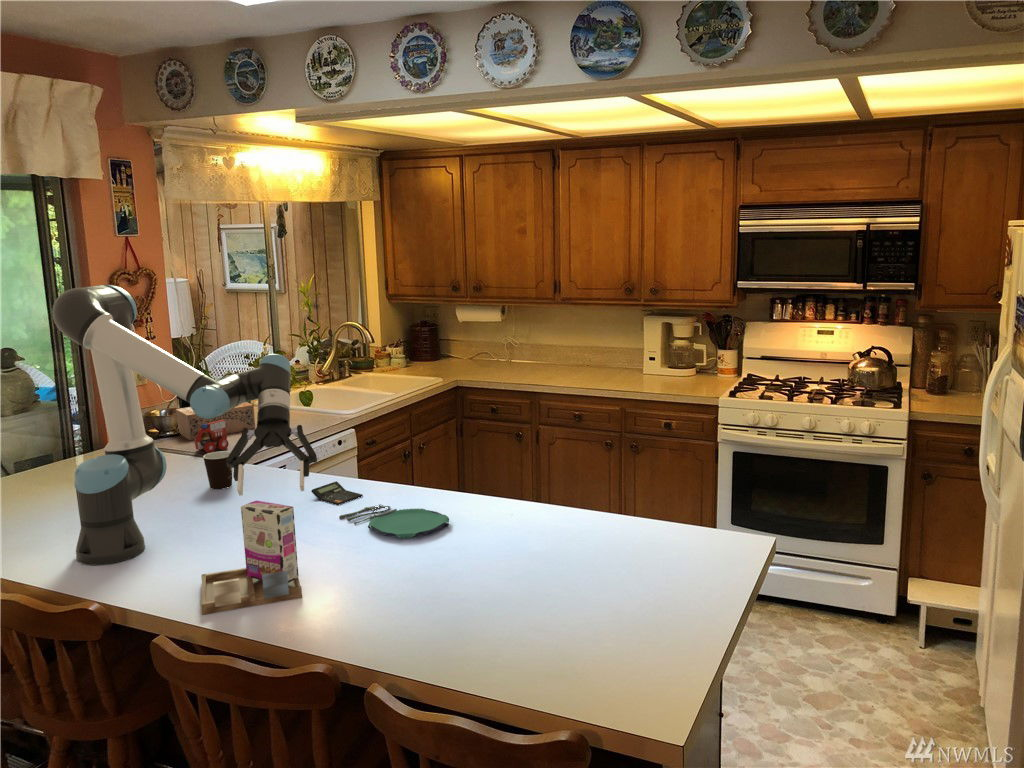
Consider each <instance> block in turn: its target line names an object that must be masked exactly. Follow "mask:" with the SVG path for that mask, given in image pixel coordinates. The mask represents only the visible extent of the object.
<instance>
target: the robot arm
mask: <svg viewBox="0 0 1024 768" xmlns="http://www.w3.org/2000/svg"><path fill="white" fill-rule="evenodd" d="M137 313H138V310H137V305H136V302H135V299H134V298H133V297H132V296H131V294H130V293H129V292H128V291H126V290H125V289H123V288H122V287H120V286H117V285H113V284H99V285H91V286H84V287H75V288H71V289H67V290H66V291H63V293H61V294H60V295H58V297H57V298H56V299H55V301H54V303H53V305H52V319H53V323H54V324H55V326H56V328H57V329H58V330H59V332H61V334H63V335H64V336H65V337H67V338H68V339H70V340H71V341H73V342H74V343H76V344H78V345H79V346H80V347H82V348H85V349H87V350H90V354H91V358H92V362H93V368H94V372H95V377H96V382H97V388H98V392H99V396H100V402H101V407H102V411H103V416H104V417H103V418H104V422H105V427H106V431H107V437H108V443H106V445H105V447H104V448H103V450H104V455H98V456H96V457H95V458H94V457H92V458H89V459H86V460H85V461H83V462H81V463H80V464H79V465H78V466H77V467H76V469H75V470H74V485H73V486H74V487H75V493H76V499H77V500H76V501H77V506H78V507H77V508H78V514H79V515H78V516H79V521H80V531H79V535H78V538H77V543H76V546H75V547H76V548H75V555H76V561H77V562H78V563H80V564H82V565H89V566H100V565H103V566H104V565H109V564H115V563H119V562H123V561H127V560H129V559H132V558H134V557H136V556H138V555H140V554H141V553H143V551H144V550H145V549H146V544H145V537H144V535H143V533H142V531H141V530H140V528H139V525H138V523H137V522H136V521H135V518H134V517H135V516H134V509H133V500H135V499H137V498H138V497H140V496H142V495H143V494H145V493H147V492H149V491H152V490H153V489H154V488H155V487H156V486H157V485H158V484H160V483H161V481H162V480H163V479H164V478H165V475H166V472H167V466H168V465H167V459H166V457H165V455H164V453H163V452H162V450H160V449H159V447H157V446H155V443H154V439H153V438H152V437H150V436H149V435H147V434H146V433H147V432H146V429H145V424H144V418H143V413H142V409H141V404H140V399H139V394H138V387H137V383H136V378H135V373H136V374H139V375H140V376H142V377H144V378H145V379H147V380H149V381H151V382H153V383H154V384H156V385H158V386H160V388H161V387H162V388H163V389H165V390H166V391H168V392H169V393H171V394H173V395H175V396H177V397H178V398H180V399H182V400H183V401H185V402H187V403H189V404H190V405H189V407H191V408H192V410H193V411H194V413H195V414H196V415H197V416H199V417H201V418H204V419H210V418H214V417H217V416H221V415H222V414H224V413H225V412H227V411H228V410H230V409H233V408H235V407H237V406H239V405H241V404H243V403H245V402H247V403H250V402H251V401H256V400H257V417H256V427H255V430H254V429H251V430H248V429H247V428H243V430H242V431H241V436H240V438H239V439H238V441H237V442H236V444H235V445H234V447H233V448H232V450H231V451H230V452H231V453H230V454H229V456H228V457H227V459H226V463H227V466H228V467H229V468H231V467H232V469H233V472H232V478H233V479H234V482H237V485H236V486H237V489H236V490H237V493H238V496H243V495H244V493H243V492H244V476H245V469H244V466H245V464H247V463H248V462H249V461H250V460H251V459H252V458H253V457H254V456H255V454H257V453H258V452H259V451H261V450H262V449H263V448H264V447H266V448H268V449H269V448H273V447H275V448H280V447H281V446H283V447H285V448H286V449H287V450H289V452H291V453H292V454H293V455H294V456H295V457H296V458H297V459H298V460H299V490H300V492H305V477H309V476H310V465H311V464H312V463H317V462H318V457H317V453H316V452H315V450H314V449H313V447H312V445H311V443H310V441H309V440H308V439H307V437H306V436H305V433H304V430H303V425H302V424H298V425H296V427H292V428H291V426H290V424H291V423H290V422H291V421H290V420H291V419H290V417H291V414H290V411H291V377H292V372H291V363H290V360H289V359H288V358H287V357H286V356H284V355H282V354H278V353H268V354H267V355H264V357H262V358H261V359H260V361H259V364H258V367H256V368H253V369H250V370H246V371H242V372H238V373H233V374H231V375H230V374H229V375H225V376H222V377H220V378H216V379H213V378H212V377H210V376H208V375H206V374H205V373H203V372H201V371H200V370H198V369H196V368H194V367H193V366H192V365H190V364H188V363H186V362H184V361H182V360H181V359H179V358H178V357H176V356H174V355H173V354H171V353H169V352H167V351H165V350H164V349H162V348H161V347H159V346H157V345H155V344H153V343H151V342H150V341H148V340H147V339H145V338H143V337H141V336H139V334H136V333H134V332H133V329H132V325H133V324H134V321H136V319H137ZM134 372H135V373H134ZM292 434H293V435H294V436H295V437H296V438H298V440H299V442H300V444H301V445H302V447H303V449H304V450H305V452H306V453H307V454H306V453H304V452H303V451H302V450H301V449H300V448H299V447H298V446H297V445H296V444H295V443H294V442H293V441H292V440H291V439H290V437H291V436H292ZM253 437H255V439H254V440H253V442H252V443H251V444H250V445H249V446H248V447H247V448H246V446H247V444H248V442H249V440H251V439H252V438H253ZM245 448H246V449H245ZM244 449H245V450H244ZM243 450H244V451H243Z"/></svg>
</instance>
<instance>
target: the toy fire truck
mask: <svg viewBox="0 0 1024 768" xmlns="http://www.w3.org/2000/svg"><path fill="white" fill-rule="evenodd" d="M226 427H227V422H226V420H220V421H216V422H211V423H208V424H202V425H201V428H202V429H199V430H198V433H197V436H196V438H195V439H194V444H195V445H194V446H195V449H196V450H197V451H202V452H203V451H204V452H206V453H207V454H208V453H212V452H216V451H215V450H216V448H218V449H219V450H220V451H225V450H227V448H228V447H229V441H228V434H226ZM207 432H208V433H207Z"/></svg>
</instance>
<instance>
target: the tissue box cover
mask: <svg viewBox="0 0 1024 768" xmlns="http://www.w3.org/2000/svg"><path fill="white" fill-rule="evenodd" d="M176 415H177V418H176V423H177V422H178V428H177V430H178V429H179V432H180V434H181V435H180V434H179V435H180V436H182V437H184V438H186V439H187V440H189V441H193V440H195V438H196V436H197V433H198V430H199V429H202V428H201V425H202V424H208V423H211V422H216V421H220V420H226V422H227V427H226V435H228V434H232V433H238V432H242V430H243V428H247V429H248V430H254V429H256V419H255V408H254V404H252V403H251V402H245V403H243V404H241V405H239V406H237V407H235V408H233V409H230V410H228V411H227V412H225V413H224V414H222V415H221V416H217V417H214V418H210V419H204V418H201V417H199V416H197V415H196V414H195V413H194V411H193V410H192V408H191V406H188V407H182V408H176V409H175V416H176ZM207 433H208V432H207Z"/></svg>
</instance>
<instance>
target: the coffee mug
mask: <svg viewBox="0 0 1024 768" xmlns="http://www.w3.org/2000/svg"><path fill="white" fill-rule="evenodd" d="M230 453H231V451H225V450H220V451H214V452H212V453H208V452H207V453H206V454H204V455H203V457H202V459H203V462H204V467H205V471H206V475H207V480H208V484H209V488H210V489H211V488H212V490H224V489H223V488H225V489H228V488H227V487H229V488H231V487H232V486H233V468H232V467H231V468H229V467H228V466H227V463H226V459H227V457H228V456H229V454H230ZM231 485H232V486H231ZM230 486H231V487H230Z"/></svg>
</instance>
